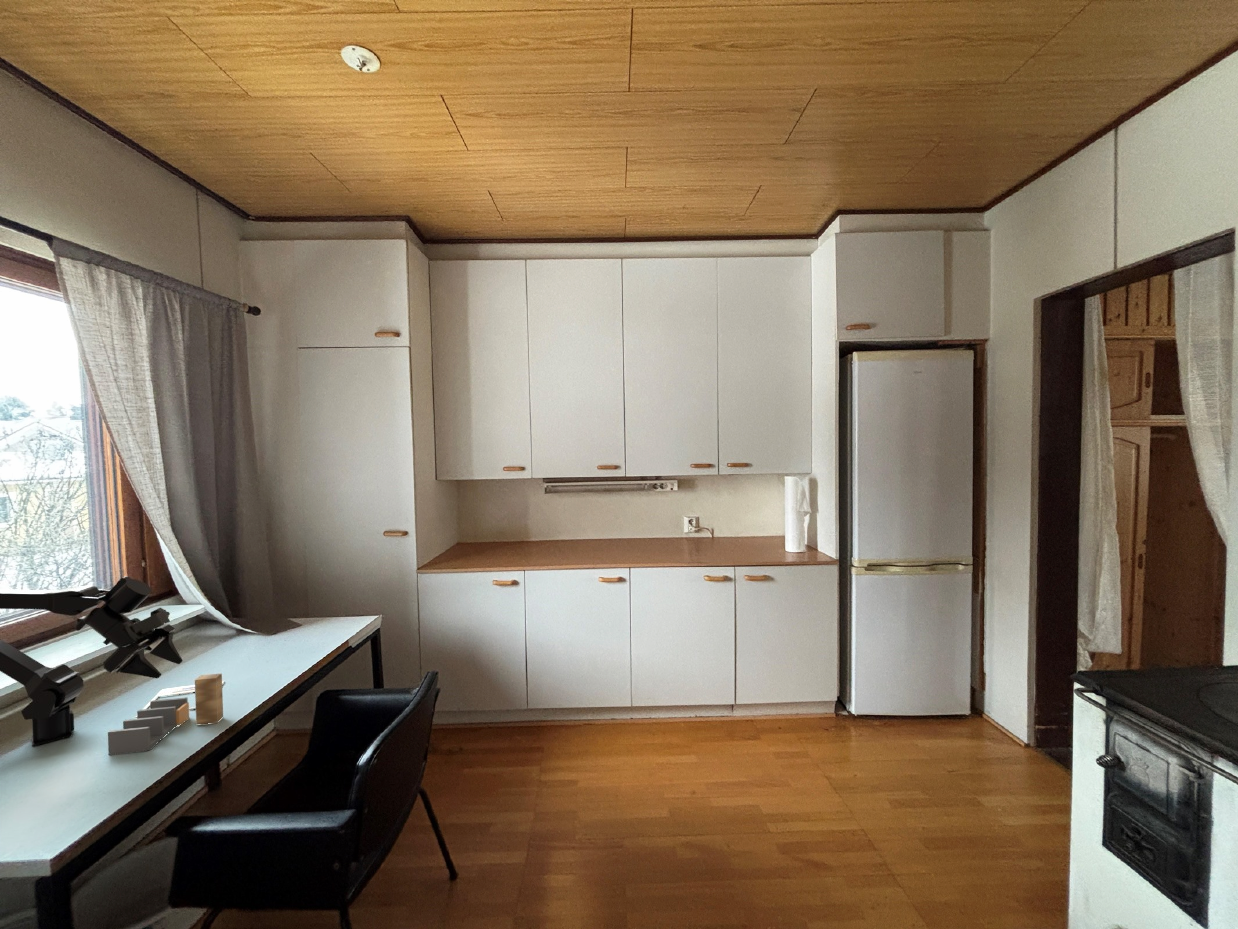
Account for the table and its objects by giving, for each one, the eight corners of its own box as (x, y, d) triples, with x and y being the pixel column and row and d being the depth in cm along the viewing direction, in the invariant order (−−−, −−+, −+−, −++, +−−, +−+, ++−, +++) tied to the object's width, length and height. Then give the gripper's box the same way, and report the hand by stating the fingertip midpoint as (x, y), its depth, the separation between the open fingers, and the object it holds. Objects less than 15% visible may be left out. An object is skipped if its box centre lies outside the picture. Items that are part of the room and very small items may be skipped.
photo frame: (224, 680, 165) (206, 705, 148) (224, 684, 165) (206, 709, 148) (161, 688, 160) (135, 716, 143) (162, 692, 160) (135, 720, 143)
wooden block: (196, 725, 139) (194, 680, 138) (202, 720, 142) (201, 675, 141) (217, 723, 140) (215, 678, 139) (223, 718, 142) (221, 673, 142)
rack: (108, 755, 125) (107, 732, 125) (152, 720, 142) (152, 700, 141) (152, 750, 127) (151, 728, 127) (190, 717, 143) (190, 697, 143)
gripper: (117, 611, 128) (175, 657, 131) (164, 592, 146) (215, 632, 149) (76, 650, 127) (136, 695, 129) (129, 625, 145) (181, 665, 147)
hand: (170, 669), depth 139 cm, fingers open, 9 cm apart
